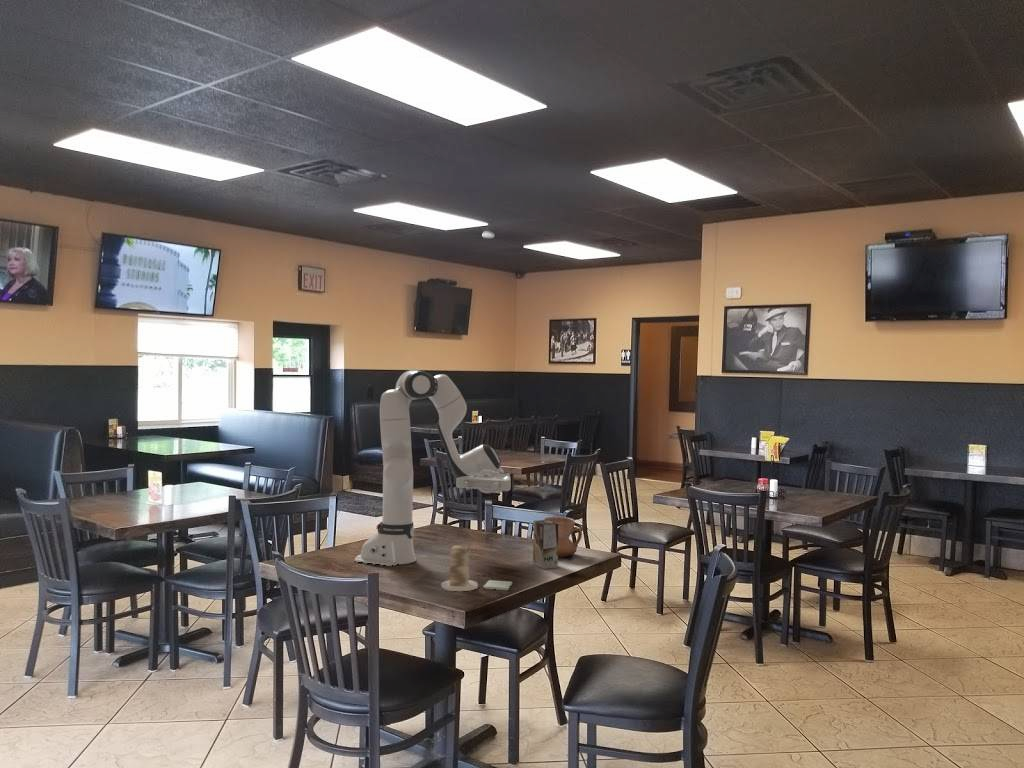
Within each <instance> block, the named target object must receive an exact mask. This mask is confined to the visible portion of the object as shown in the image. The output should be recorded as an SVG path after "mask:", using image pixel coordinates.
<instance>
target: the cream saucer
mask: <svg viewBox="0 0 1024 768" xmlns="http://www.w3.org/2000/svg"><path fill="white" fill-rule="evenodd" d="M478 587H479V583H478V582H477V581H474V580H471V579H469V583H468V584H467V585H466V586H465V587H463V586H450V579H449V580H444V581H442V582H441V584H440V589H442V588H443V589H445V590H448V591H447V592H449V591H469V590H474V589H476V590H478V589H479V588H478ZM443 589H442V590H443ZM445 590H444V591H445ZM474 591H475V590H474ZM469 592H470V591H469Z"/></svg>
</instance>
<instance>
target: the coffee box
mask: <svg viewBox="0 0 1024 768" xmlns="http://www.w3.org/2000/svg"><path fill="white" fill-rule="evenodd" d="M532 529H533V531H532V532H533V534H532V535H533V537H532V538H533V539H532V540H533V543H532V544H533V545H532V548H533V549H532V553H533V554H532V564H533V565H535V566H537V567H539V568H541V569H542V570H547V569H556V568H557V569H558V567H559V557H558V524H557V523H555V522H552V521H549V520H543V519H540V520H533V528H532Z"/></svg>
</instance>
